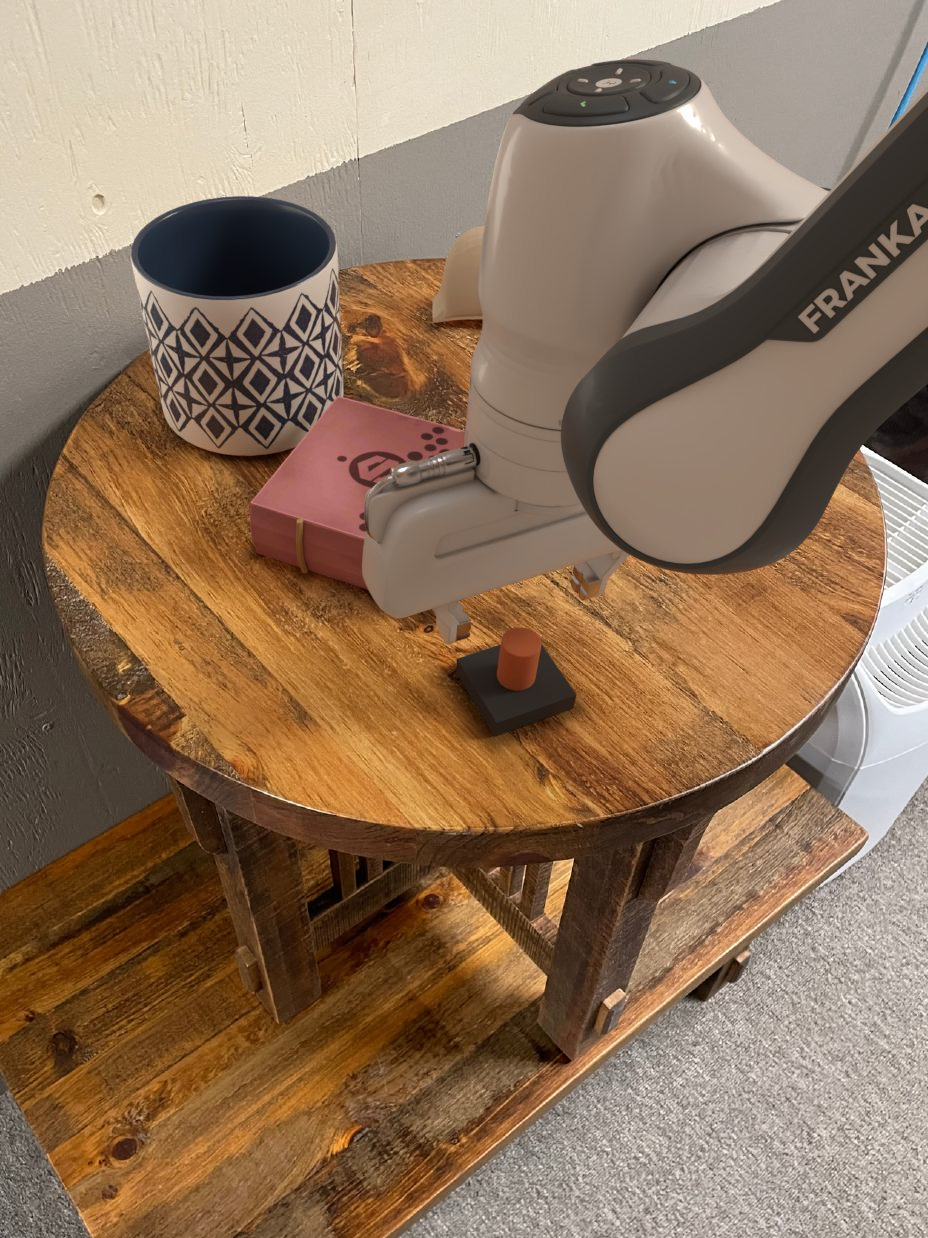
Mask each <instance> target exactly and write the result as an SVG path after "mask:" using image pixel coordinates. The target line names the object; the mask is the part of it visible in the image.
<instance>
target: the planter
mask: <svg viewBox="0 0 928 1238" xmlns="http://www.w3.org/2000/svg"><path fill="white" fill-rule="evenodd" d="M337 242H338V241H337V238H336V234H335V232H334V231H333V229H332V227H331V226H330V224H329V223H328V222H327V221H326V220H325V219H324V218H322V217H321V216H320V215H318V214H317V212H314V211H312V210H310V209H309V208H306V207H304V206H302V205H299V204H296V203H294V202H290V201H286V200H283V199H277V198H271V197H266V196H265V197H263V196H254V195H253V196H252V195H247V196H246V195H235V196H233V195H232V196H219V197H213V198H207V199H202V200H197V201H193V202H190V203H186V204H184V205H180V206H178V207H175V208H173V209H170V210H167V211H166V212H164V213H162V214H160V215H158V216H157V217H155V218H154V219H152V220H151V221H149V222H148V223H146V224H145V226H144V227H143V228H141V229H140V231H139V232H138V233H137V234H136V236H135V238H134V239H133V241H132V245H131V247H130V263H131V267H132V272H133V277H134V282H135V287H136V291H137V292H136V293H137V296H138V301H139V306H140V310H141V315H142V320H143V325H144V330H145V334H146V339H147V343H148V348H149V353H150V359H151V362H152V367H153V371H154V377H155V380H156V385H157V391H158V395H159V400H160V403H161V408H162V411H163V416H164V419H165V420H166V422H167V424H168V426H169V427H170V428H171V429H172V431H174V433H175V434H176V435H178V436H179V437H181V439H183V440H184V441H185V442H188V443H189V444H191V445H193V446H195V447H198V448H199V449H203V450H206V451H208V452H212V453H217V454H222V455H228V456H229V455H230V456H236V457H237V456H238V457H239V456H241V457H247V456H248V457H252V456H253V457H254V456H265V455H271V454H276V453H277V454H278V453H282V452H285V451H289V450H291V449H292V450H293V449H295V447H296V446H297V445H298V444H299V443H300V441H301V440H302V439H303V438H304V436H305V435H306V434H307V433H308V432H309V430H310V429H311V428H312V427H313V425H314V424H315V423H316V422H317V421H318V419H319V418H320V417H321V416H322V414H323V413H324V412H325V411H326V410H327V408H328V407H329V406H330V405H331V403H332V402H333V401H334V400H335V399H336V397H337V396H341V397H344V370H343V369H344V367H343V344H342V326H341V325H342V320H341V300H340V296H341V295H340V278H339V277H340V275H339V274H340V273H339V256H338V243H337Z"/></svg>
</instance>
